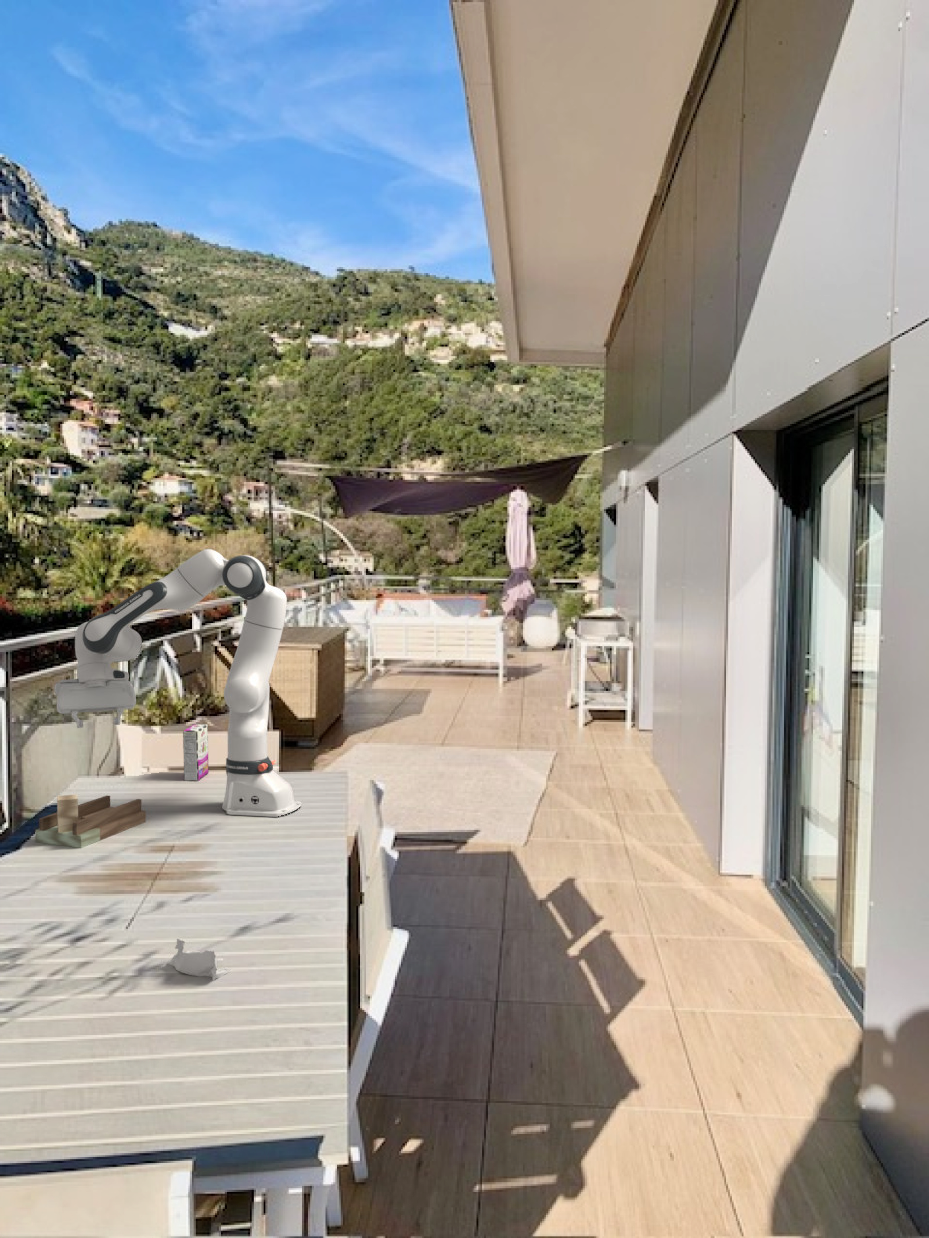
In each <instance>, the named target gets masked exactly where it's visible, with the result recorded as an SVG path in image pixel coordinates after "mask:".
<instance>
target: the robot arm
mask: <svg viewBox="0 0 929 1238" xmlns="http://www.w3.org/2000/svg"><path fill="white" fill-rule="evenodd" d="M267 581H268V571H267V568H266V566H265V564H264V563H263V562H262V561H261V560H260V559H258V558H256V557H254V556H253V555H248V554H243V555H236V556H234V557H232V558H230V559H226V558H225V556H223V555H222V554H221V553H220V552H218V551H216V550H214V549H211V548H205V549H203V550H201V551H199V552H197V553H195V554H194V555H193V556H191V557H189V558H188V559H186V560H185V561H184V562H183V563H181V564H180V565H179V566H178V567H177V568H175V569H174V570H172V571H171V572H170V573H168V574H167V575H165V576H164V577H162V578H160V579H159V580H157V581H154V582H151V583H149V584H147V585H145V586H143V587H142V588H140V589H139V590H137V591H136V592H134V593H133V594H132V595H130V596H129V597H127V598H126V599H124V600H123V601H121V602H120V603H118V604H116V605H115V606H114V607H112V608H111V609H109V610H107V611H106V612H103V613H101V614H98V615H96V616H93V617H92V618H91V619H89V620H88V621H86V622H83V623H81V624H80V625H79V626H78V627H77V629H76V632H75V636H74V637H75V638H74V648H75V649H74V650H75V657H76V660H77V665H76V676H77V678H73V679H72V678H71V679H60V680H59V681H57V682H56V683H55V684H54V694H55V695H56V696H57V697H56V711H57V712H58V713H59V714H62V715H63V714H71V718H72V720H74V722H76V729H81V728H84V719H80V718H79V717H78V714H79V713H87V712H90V713H91V712H104V711H105V712H106V711H116V713H117V714H118V715H117V717H113V718H112V720H113V725H114V726H120V725H121V716H122V714H123V713H124V710H131V709H133V708H134V707H135V706H136V704H137V699H136V692H135V689H134V686H133V683H132V682H131V681H130V679H129V678H130V674H129V672H128V671H125V670H120V669H116V668H112V664H113V663H121V662H129V661H132V660H133V659H135V658H136V657H137V656H138V655H139V654H140V653H141V650H142V647H143V639H142V636H141V634H140V633H139V632H138V631H136V630H134V629H133V628H131V627H129V626H130V625H132V624H133V623H135V622H136V621H137V620H139V619H141V618H142V617H143V616H144V615H146V614H147V613H150V612H153V611H157V610H175V611H185V610H188V609H191V608H192V607H194V606H195V605H197V604H199V603H200V602H201V601H202V600H203V599H204V598H206V597H207V596H208V595H209V594H210V593H211V592H212V591H214V590H215V589H217V588H218V587H220V586H225V587H226V588H227V589H228V590H229V591H230V592H232V593H233V594H236V595H237V596H239V597H241V598H242V599H244V600H245V601H247V605H246V606H247V607H246V611H245V612H246V613H245V616H244V620H243V624H242V626H241V627H242V628H241V632H240V635H239V640H238V644H237V648H236V651H235V654H234V657H233V659H232V662H231V666H230V669H229V672H228V676H227V679H226V683H225V686H224V689H223V698H224V701H225V703H226V706H227V707H228V708H229V715H228V726H227V757H226V759H225V772H226V773H225V774H226V777H227V778H226V787H225V792H224V798H223V801H222V806H221V808H222V810H224V811H225V812H226V813H225V814H227V815H229V816H230V815H231V816H235V815H236V816H253V817H272V818H273V817H274V818H275V817H276V818H278V816H279V817H282V816H281V815H284V814H287V813H289V812H291V811H294V810H296V809H297V808H299V807H300V806H301V804H302V802H301V801H300V800H299V801H298V800H295V798H294V792H293V788H292V785H291V784H290V783H289V782H287V781H286V780H285V779H284V778H283V777H282V776H280V775H279V774H278V773H277V772H276V771H274V767H273V765H276V762H277V761H276V760H277V759H274V760H270V757H269V755H268V726H269V725H268V723H269V711H270V709H269V708H270V682H269V681H270V678H271V673H272V671H273V667H274V663H275V661H276V657H277V654H278V651H279V646H280V642H281V640H282V639H281V638H282V635H283V631H284V626H285V622H286V616H287V615H286V614H287V607H288V606H287V605H288V604H287V603H288V598H287V594H286V593H285V592H284V591H283V590H282V589H281V588H279V587H276V586H274V585H270V584H269V583H268V582H267ZM287 815H288V814H287ZM284 816H285V815H284Z"/></svg>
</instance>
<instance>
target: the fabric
mask: <svg viewBox="0 0 929 1238" xmlns="http://www.w3.org/2000/svg"><path fill="white" fill-rule="evenodd" d="M185 942H186V941H184V940H182V939H180V938H177V939H176V944H175V948H174V949H175V950H177V953H176V954H174V955H173V957H172V958H171V959H170V960H168V962H167V963H166V965H169V966H173V967H174V968H175V970H176V971H178V972H180V973H182V974H186V975H189V976H194V977H211V979H212V981H215V980H216V979H219V978H221V977H223V976H225V975H226V974H228V972H227V971H231V969H230V967H222V968H219V969H218V963H221V962H224V959H223V958H222V957H221V958H220V957H219V958H217V957H216V954H215V952H214V950H213V951H212V950H204V951H203V952H202V951H199V950H195V949H194V950H193V949H192V950H187V951H184V950H185V944H186V943H185Z"/></svg>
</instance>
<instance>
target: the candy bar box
mask: <svg viewBox="0 0 929 1238" xmlns="http://www.w3.org/2000/svg"><path fill="white" fill-rule="evenodd" d="M182 738H183V739H182V742H183V744H182V745H183V746H182V747H183V781H185V782H199V781H200V780H201V779H203V778H204V777H205V776H207V775H208V774H209V727H208V724H204V723H203V724H200V723H199V724H198V723H197V724H192V725H190V726H189V727H188V728H185V729H184V730H182Z"/></svg>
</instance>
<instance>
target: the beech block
mask: <svg viewBox="0 0 929 1238" xmlns="http://www.w3.org/2000/svg"><path fill="white" fill-rule="evenodd" d="M56 799H57V800H56V802H57V803H56V804H57V805H56V808H57V809H56V810H57V812H56V813H57V817H58V833H60V832H69V831H73V822H76V821H78V805H79V797H78V794H76V793H75V794H67V795H66V794H65V795H57V797H56Z"/></svg>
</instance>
